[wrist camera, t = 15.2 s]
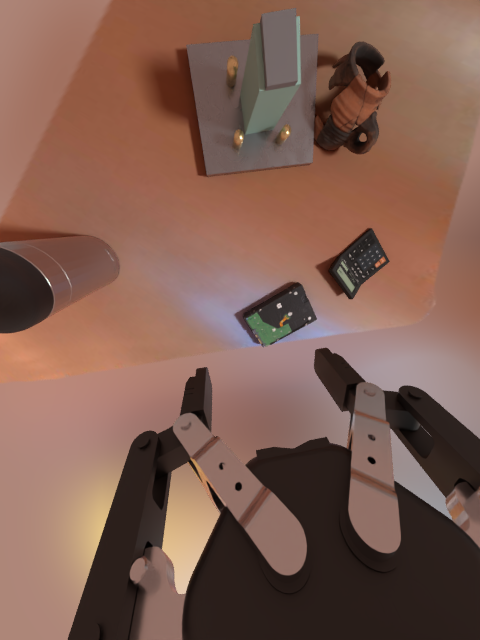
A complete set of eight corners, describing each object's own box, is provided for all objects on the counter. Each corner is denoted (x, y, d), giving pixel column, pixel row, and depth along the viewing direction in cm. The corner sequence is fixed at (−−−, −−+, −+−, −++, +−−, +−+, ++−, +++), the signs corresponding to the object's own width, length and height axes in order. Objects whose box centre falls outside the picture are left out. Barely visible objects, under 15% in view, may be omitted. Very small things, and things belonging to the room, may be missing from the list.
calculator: (386, 261, 44) (397, 263, 41) (343, 296, 47) (351, 300, 44) (369, 228, 40) (379, 228, 38) (323, 268, 43) (330, 271, 40)
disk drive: (296, 280, 44) (241, 313, 46) (301, 283, 41) (243, 319, 43) (312, 314, 48) (261, 343, 50) (318, 319, 46) (264, 349, 48)
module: (245, 135, 30) (260, 87, 20) (240, 93, 28) (254, 15, 17) (273, 129, 30) (304, 79, 20) (270, 88, 28) (302, 6, 18)
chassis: (207, 176, 33) (205, 170, 29) (187, 53, 27) (182, 23, 23) (308, 165, 34) (321, 157, 30) (313, 43, 28) (330, 12, 24)
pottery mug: (294, 115, 31) (333, 44, 23) (329, 95, 34) (374, 24, 26) (335, 180, 33) (383, 134, 25) (365, 157, 36) (417, 108, 28)
